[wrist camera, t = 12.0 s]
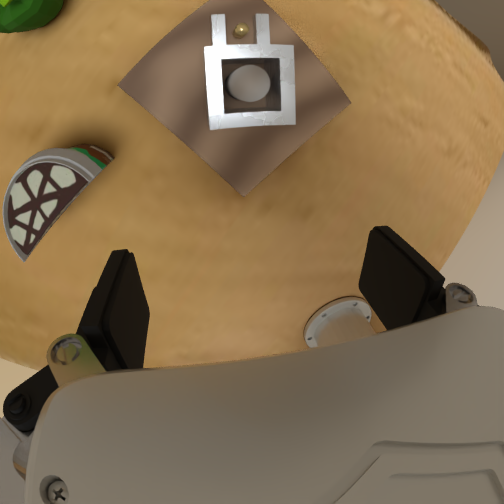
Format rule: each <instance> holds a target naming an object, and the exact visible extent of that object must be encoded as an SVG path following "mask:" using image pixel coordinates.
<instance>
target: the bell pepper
mask: <svg viewBox="0 0 504 504" xmlns="http://www.w3.org/2000/svg"><path fill="white" fill-rule="evenodd" d="M62 5H63V0H0V33H13V32H23V31H29V30H33V29H36V28H39V27H43V26H45V25H46V24H47V23H48V22H49V21H51V20H52V19H53V18H55V17H56V15H57V14H58V12H59V11H60V10H61V8H62Z"/></svg>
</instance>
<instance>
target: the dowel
mask: <svg viewBox="0 0 504 504" xmlns="http://www.w3.org/2000/svg"><path fill="white" fill-rule="evenodd" d="M248 31H249V26H248V25H247V24H245V23H239V24H238V25H237V26H236V27H235V29H234V30H233V32H232V36H233V37H234V38H235V39H241V38H243V37H244V36H245V35H246V34H247V33H248Z"/></svg>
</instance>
